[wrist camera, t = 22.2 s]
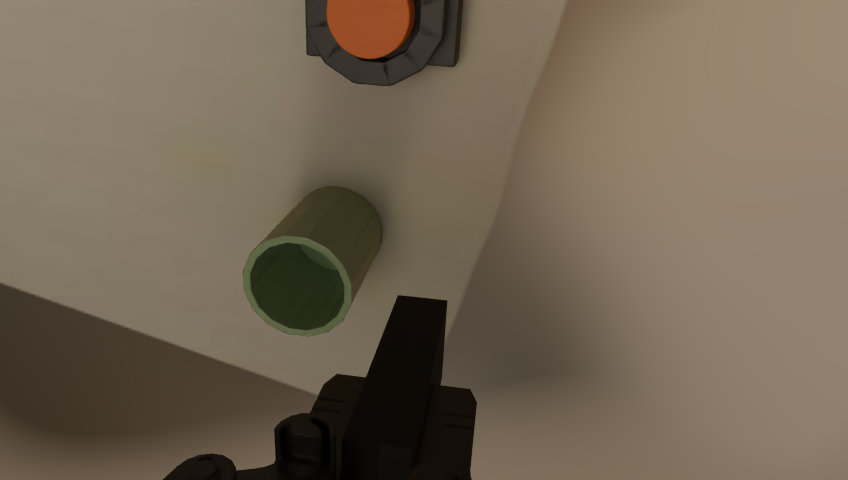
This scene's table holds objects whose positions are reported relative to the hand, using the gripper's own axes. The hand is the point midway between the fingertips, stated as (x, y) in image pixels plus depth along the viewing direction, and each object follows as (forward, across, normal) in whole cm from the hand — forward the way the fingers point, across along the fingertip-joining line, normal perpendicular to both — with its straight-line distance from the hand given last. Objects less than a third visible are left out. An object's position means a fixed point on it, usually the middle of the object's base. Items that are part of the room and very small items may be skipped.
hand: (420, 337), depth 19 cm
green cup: (+20, -8, -5) cm, 22 cm away
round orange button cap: (+16, -5, +9) cm, 19 cm away
